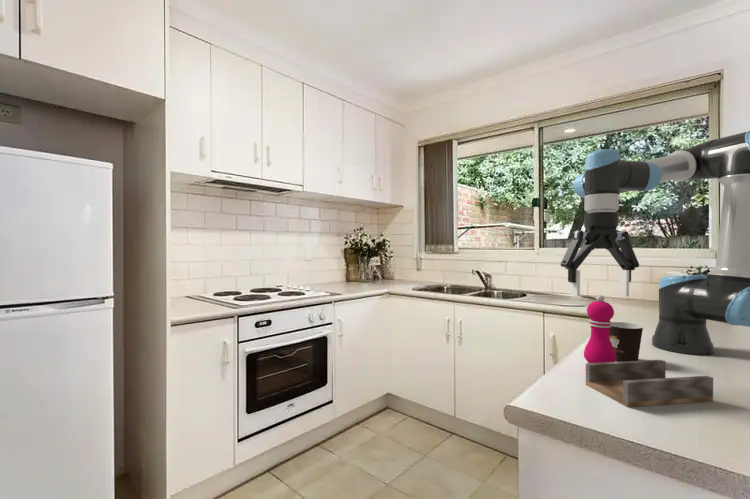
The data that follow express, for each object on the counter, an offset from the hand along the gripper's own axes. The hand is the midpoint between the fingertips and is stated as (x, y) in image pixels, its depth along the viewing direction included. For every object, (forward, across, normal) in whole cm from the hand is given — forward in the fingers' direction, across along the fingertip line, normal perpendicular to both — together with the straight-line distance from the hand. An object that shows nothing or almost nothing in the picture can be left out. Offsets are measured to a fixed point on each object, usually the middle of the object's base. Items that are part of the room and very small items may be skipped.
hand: (599, 295), depth 97 cm
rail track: (+20, -2, +13) cm, 24 cm away
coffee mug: (+20, -16, -10) cm, 27 cm away
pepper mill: (+20, 0, 0) cm, 20 cm away
